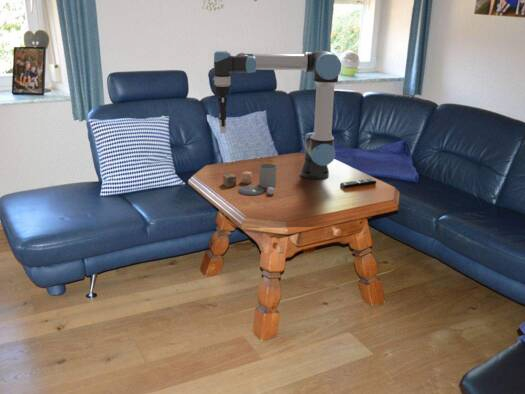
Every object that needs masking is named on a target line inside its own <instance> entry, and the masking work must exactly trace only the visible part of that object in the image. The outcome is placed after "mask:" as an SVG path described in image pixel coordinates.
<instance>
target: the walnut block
mask: <svg viewBox="0 0 525 394" xmlns="http://www.w3.org/2000/svg"><path fill="white" fill-rule="evenodd" d="M222 182H223V183H222V185H224V186H225V187H226V188H230V187H237V176H236V175H235V174H233V173H227V174H226V173H225V174H222Z"/></svg>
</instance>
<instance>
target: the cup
mask: <svg viewBox="0 0 525 394" xmlns="http://www.w3.org/2000/svg"><path fill="white" fill-rule="evenodd" d="M258 167H259V168H258V169H259V171H258V172H259V174H258V175H259V179H258V183H259V184H258V185H259V187H261V188H266V189H268V188H269V187H272V188H274V187H276V185H277V165H276V164H275V163H274V164H273V163H261V164H260V165H259V166H258Z"/></svg>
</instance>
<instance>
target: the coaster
mask: <svg viewBox="0 0 525 394" xmlns="http://www.w3.org/2000/svg"><path fill="white" fill-rule="evenodd" d="M238 193H240V194H241V195H244V196H258V195H262V194H263V193H264V187H261V186H257V185H243V186H241V187H239V188H238Z"/></svg>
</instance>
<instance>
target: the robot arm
mask: <svg viewBox="0 0 525 394" xmlns="http://www.w3.org/2000/svg"><path fill="white" fill-rule="evenodd" d="M213 55H214V56H213V75H214V76H213V78H212V81H214V82H213V83H214V86H213V88H214V94H215V95H219V96H218V107H219V117H218V120H219V129H220V130H219V131H220V134H227V103H228V102H227V101H228V99H227V97H226V95H230V94H231V86H230V85H231V84H232V83H231V73H240V74H241V73H244V74H245V73H247V74H251V73H256V71H257V70H258V71H259V70H260V71H261V70H263V71H264V70H265V71H267V70H268V71H273V70H275V71H277V70H278V71H303V72H304V73H313V83H315V85H316V86H315V87H316V89H315V103H314V104H315V106H314V108H315V109H314V125H313V126H314V127H313V132H307V133H306V134H305V136H304V137H305V138H304V142H305V143H304V160H303V163H302V166H301V168H300V176H301V177H303V178H305V179H311V180H323V179H327V178H329V176H330V171H329V167H328V166H329V165H330V164H331V163H332V162H334V160H335V157H336V150H335V146H334V145H335V137H334V136H333V134H332V130H333V128H332V127H333V113H334V100H335V86H336V84H338V82H339V75H340V73H341V70H342V63H341V62H342V61H341V59H340V58H339V57H338V55H336V54H335V53H333V52H330V51H326V50H319V51H306V52H304V53H302V54H301V53H244V52H239V53H238V54H236V55H231V52H230V51H228V50H227V51H226V50H218V51H217V50H216V51H215V52H214V53H213Z"/></svg>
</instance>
